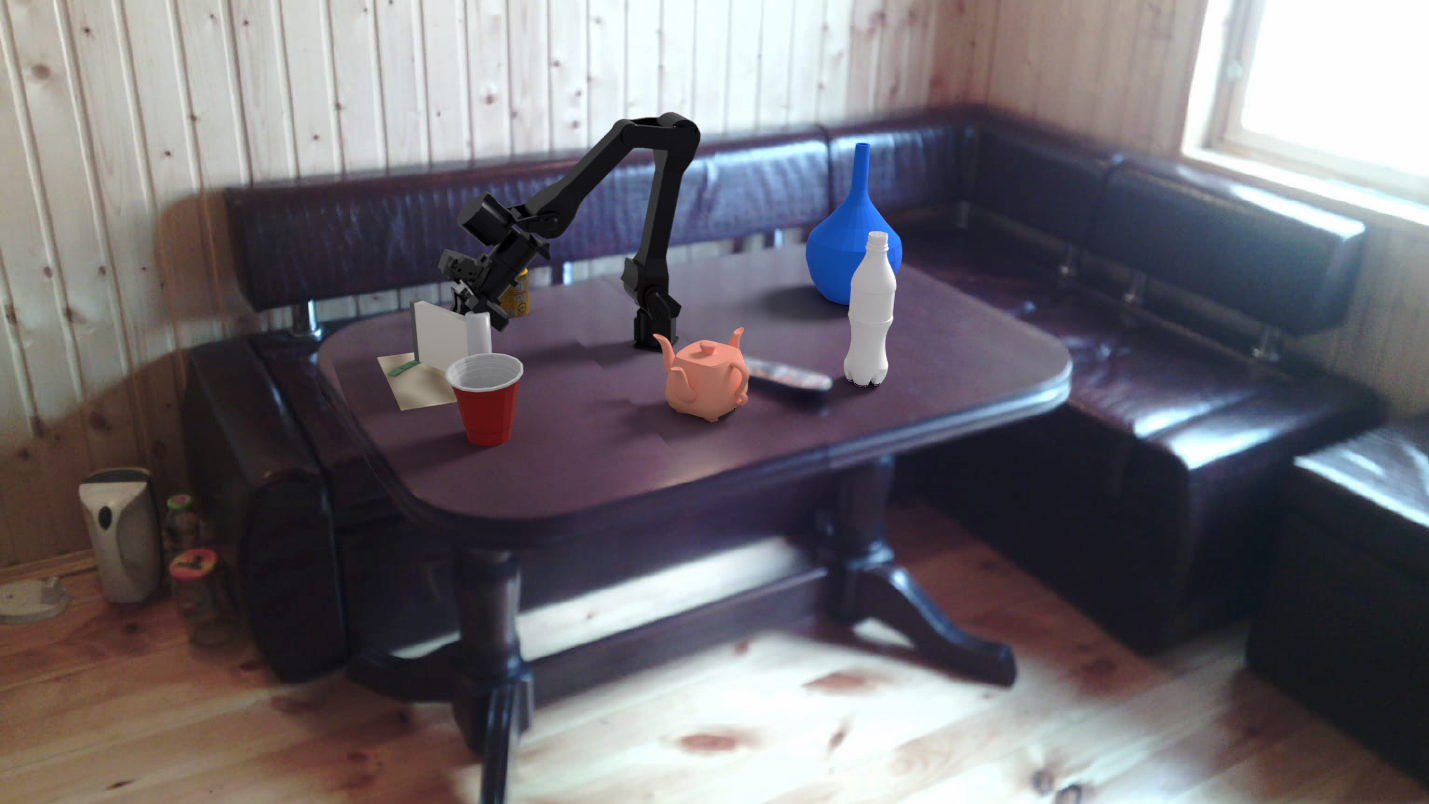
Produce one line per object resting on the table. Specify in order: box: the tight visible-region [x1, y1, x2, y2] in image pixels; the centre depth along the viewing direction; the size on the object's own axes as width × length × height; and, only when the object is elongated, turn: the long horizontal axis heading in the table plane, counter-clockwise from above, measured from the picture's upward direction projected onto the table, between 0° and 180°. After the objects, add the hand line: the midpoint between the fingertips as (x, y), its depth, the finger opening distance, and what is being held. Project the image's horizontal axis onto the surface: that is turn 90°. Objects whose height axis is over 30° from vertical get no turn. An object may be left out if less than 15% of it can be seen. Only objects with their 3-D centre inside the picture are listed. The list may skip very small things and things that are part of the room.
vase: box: [805, 142, 903, 306], centre depth 219 cm, size 18×18×30 cm
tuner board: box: [376, 351, 457, 412], centre depth 185 cm, size 16×21×2 cm
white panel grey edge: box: [408, 298, 493, 372], centre depth 181 cm, size 17×4×12 cm, turn 53°
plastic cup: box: [446, 352, 524, 447], centre depth 165 cm, size 11×11×12 cm
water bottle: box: [843, 231, 897, 386], centre depth 185 cm, size 7×7×25 cm
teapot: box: [653, 326, 750, 422], centre depth 177 cm, size 14×14×11 cm
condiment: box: [499, 267, 530, 319], centre depth 208 cm, size 7×8×12 cm
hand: (442, 337), depth 185 cm, fingers closed
